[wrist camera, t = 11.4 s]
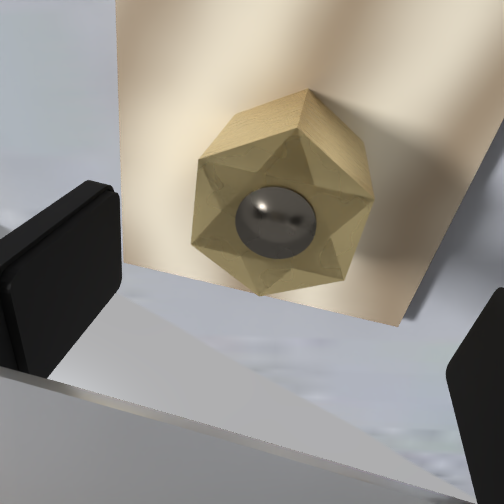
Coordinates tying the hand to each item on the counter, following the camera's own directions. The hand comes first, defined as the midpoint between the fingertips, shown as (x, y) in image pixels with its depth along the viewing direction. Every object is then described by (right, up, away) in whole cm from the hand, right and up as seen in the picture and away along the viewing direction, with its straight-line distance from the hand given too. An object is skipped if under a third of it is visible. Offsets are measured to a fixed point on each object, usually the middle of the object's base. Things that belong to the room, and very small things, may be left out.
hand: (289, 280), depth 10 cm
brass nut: (+1, +4, +6) cm, 7 cm away
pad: (+1, +5, +7) cm, 8 cm away
